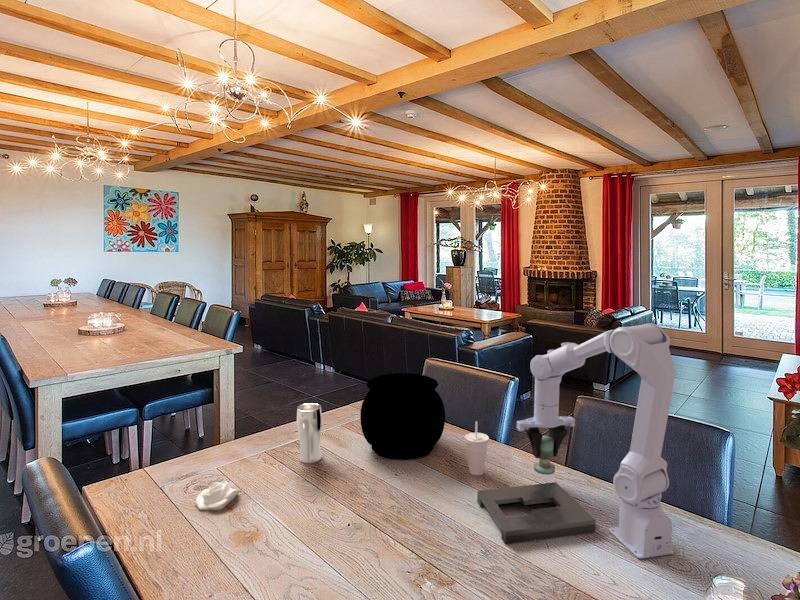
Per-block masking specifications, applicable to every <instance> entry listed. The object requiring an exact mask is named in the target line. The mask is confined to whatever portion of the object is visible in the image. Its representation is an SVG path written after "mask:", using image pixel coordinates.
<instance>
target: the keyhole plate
mask: <svg viewBox="0 0 800 600" xmlns="http://www.w3.org/2000/svg"><path fill="white" fill-rule="evenodd" d="M476 493H477V494H476V495H477V498H476V499H477V500H476V503H477V504H478V506H479V507H485V508H486V510H487V511H488V513H489V514H490V516H491V517H492V519H493V520H494V522H495V523H496V525H498V527H499V529H500V530H501V533H500V534H501V536H500V537H501V538H500V539H501V540H502V542H503V543H504V545H505V546H506V545H512V544H520V543H526V542H535V541H536V542H537V541H541V540H548V539H557V538H563V537H565V538H566V537H570V536H579V535H586V534H592V533H596V519H595V518H594V517H593V516H592V515H591V514H590V513H589V512H588V511H587V510H586V509H585V508H584V507H583V506H581V504H580V503H578V502H577V500H576V499H575V498H573V496H571V495H570V493H568V492H567V491H566V490H565V489H564V488H563V487H561V485H560V484H558V483H557V482H555V481H554V482H546V483H537V484H527V485H518V486H510V487H509V486H508V487H501V488H493V489H492V488H491V489H483V490H477V492H476ZM514 503H515V504H516V503H522V504H523V506H529V505H536V504H545V503H554V504H555V505H556V506H552V507H541V508H535V509H531V514H530V513H528V514H521V515H514V516H513V515H512V516H506V515H505V513H504V512H503V511H502V509H501V508H500V506H499V505H507V504H514Z"/></svg>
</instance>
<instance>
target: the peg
mask: <svg viewBox="0 0 800 600" xmlns="http://www.w3.org/2000/svg"><path fill="white" fill-rule="evenodd" d="M553 451H554V439H553V438H552V437H550V435H549V436H548V435H543V436H542V440H541V445H540V458H538V461H536V462H534V464H533V469H534V471H535V472H536V473H538V474H541V475H546V476H548V475H553V474H555V471H556V466H555V465H554V464H553V463H551V460H552V459H553V458H554V456H553Z"/></svg>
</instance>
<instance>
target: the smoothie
mask: <svg viewBox="0 0 800 600" xmlns="http://www.w3.org/2000/svg"><path fill="white" fill-rule="evenodd" d="M478 425H479V423H478V421H475V425H474V428H475V429H474V432H469V433H467V434H465V435H464V442H465V444H466V446H465V447H466V454H467V462H468V463H467V464H468V471H469V474H471V475H473V476H482V475H484V472H485V465H486V459H487V457H486V456H487V450H488V444H489V443H490V437H489V436H488V435H487V434H486V433H482V432H478Z"/></svg>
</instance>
